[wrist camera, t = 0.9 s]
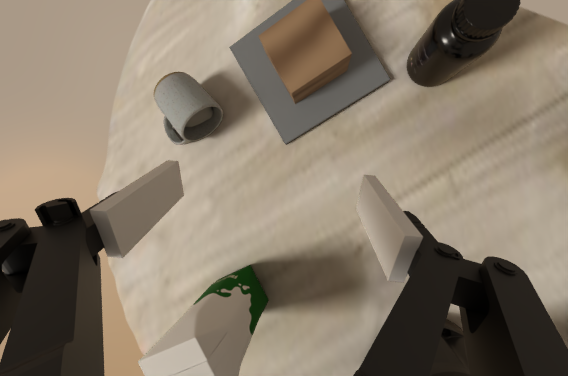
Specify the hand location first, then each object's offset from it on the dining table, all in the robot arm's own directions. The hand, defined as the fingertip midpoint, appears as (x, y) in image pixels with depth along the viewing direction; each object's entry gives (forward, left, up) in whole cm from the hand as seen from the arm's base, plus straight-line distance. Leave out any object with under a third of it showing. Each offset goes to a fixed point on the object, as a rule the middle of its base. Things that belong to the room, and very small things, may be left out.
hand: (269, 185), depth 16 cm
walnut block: (+15, -10, -20) cm, 27 cm away
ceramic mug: (+17, +10, -21) cm, 29 cm away
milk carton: (-13, +19, -21) cm, 31 cm away
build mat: (+15, -10, -21) cm, 27 cm away
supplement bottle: (+5, -25, -21) cm, 33 cm away
